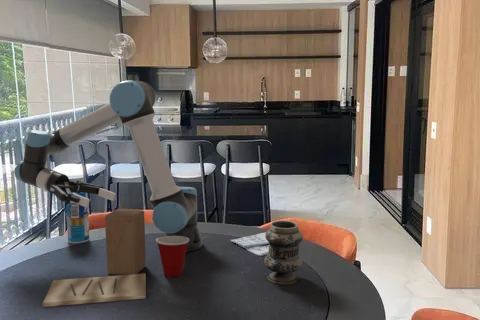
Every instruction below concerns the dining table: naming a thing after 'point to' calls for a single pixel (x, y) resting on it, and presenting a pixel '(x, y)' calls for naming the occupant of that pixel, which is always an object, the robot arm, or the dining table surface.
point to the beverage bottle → (77, 222)
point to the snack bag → (254, 244)
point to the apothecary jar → (283, 252)
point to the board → (96, 290)
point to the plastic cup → (172, 254)
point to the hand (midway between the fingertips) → (102, 200)
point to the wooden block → (125, 241)
